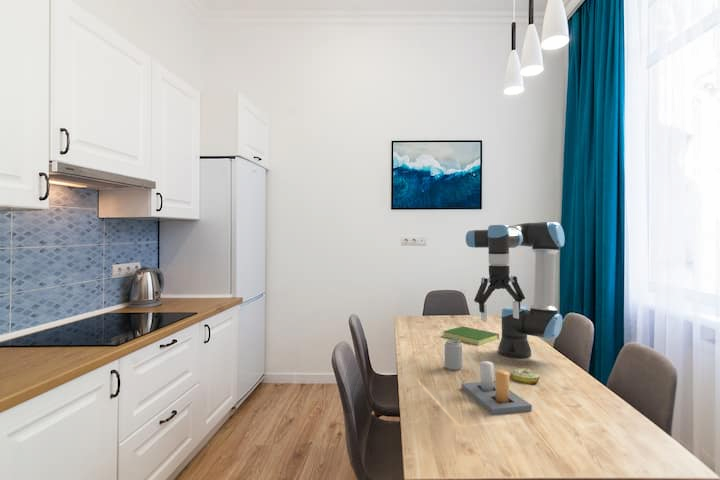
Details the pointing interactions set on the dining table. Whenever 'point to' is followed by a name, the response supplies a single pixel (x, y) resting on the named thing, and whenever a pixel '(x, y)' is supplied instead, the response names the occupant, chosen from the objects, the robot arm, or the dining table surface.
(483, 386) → the white rounded peg
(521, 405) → the housing
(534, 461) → the dining table surface
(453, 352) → the can
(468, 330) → the hardcover book
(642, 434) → the dining table surface
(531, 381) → the decorated donut
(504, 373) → the tan tapered peg
